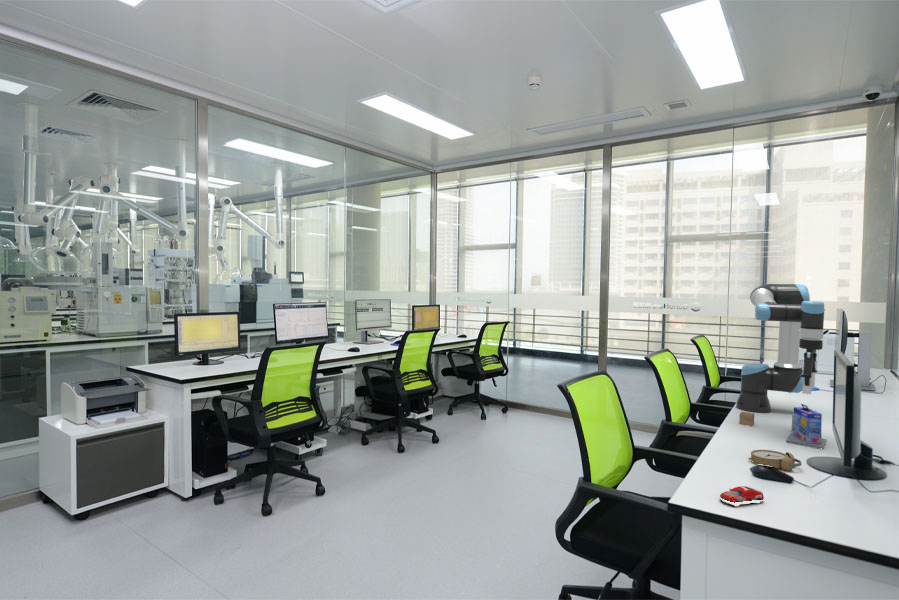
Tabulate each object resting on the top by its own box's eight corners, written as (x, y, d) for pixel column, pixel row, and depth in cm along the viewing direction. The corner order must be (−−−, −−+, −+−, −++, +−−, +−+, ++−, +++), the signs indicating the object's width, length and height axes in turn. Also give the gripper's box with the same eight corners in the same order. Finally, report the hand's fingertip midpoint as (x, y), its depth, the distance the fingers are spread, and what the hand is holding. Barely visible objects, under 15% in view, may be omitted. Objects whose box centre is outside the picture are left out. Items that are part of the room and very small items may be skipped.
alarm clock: (752, 447, 178) (802, 450, 168) (755, 461, 178) (804, 464, 168) (746, 455, 170) (798, 459, 160) (749, 469, 169) (800, 474, 159)
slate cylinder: (792, 429, 211) (792, 413, 211) (806, 431, 208) (806, 416, 208) (790, 431, 208) (791, 416, 208) (804, 434, 204) (805, 418, 204)
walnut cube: (741, 422, 222) (741, 411, 222) (754, 424, 219) (754, 413, 218) (739, 424, 218) (739, 413, 218) (751, 426, 215) (752, 415, 215)
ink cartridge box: (791, 435, 200) (793, 401, 199) (805, 436, 199) (807, 401, 199) (807, 443, 190) (808, 407, 189) (821, 444, 190) (823, 408, 189)
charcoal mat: (790, 434, 204) (790, 432, 204) (826, 441, 196) (826, 439, 196) (786, 442, 194) (786, 440, 194) (823, 449, 186) (823, 447, 186)
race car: (730, 508, 135) (731, 495, 135) (715, 500, 140) (715, 487, 140) (767, 504, 139) (768, 490, 138) (751, 495, 144) (752, 482, 144)
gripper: (803, 335, 205) (800, 384, 206) (795, 341, 187) (793, 394, 188) (825, 337, 200) (822, 387, 201) (820, 342, 182) (817, 397, 183)
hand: (808, 390), depth 194 cm, fingers open, 13 cm apart
